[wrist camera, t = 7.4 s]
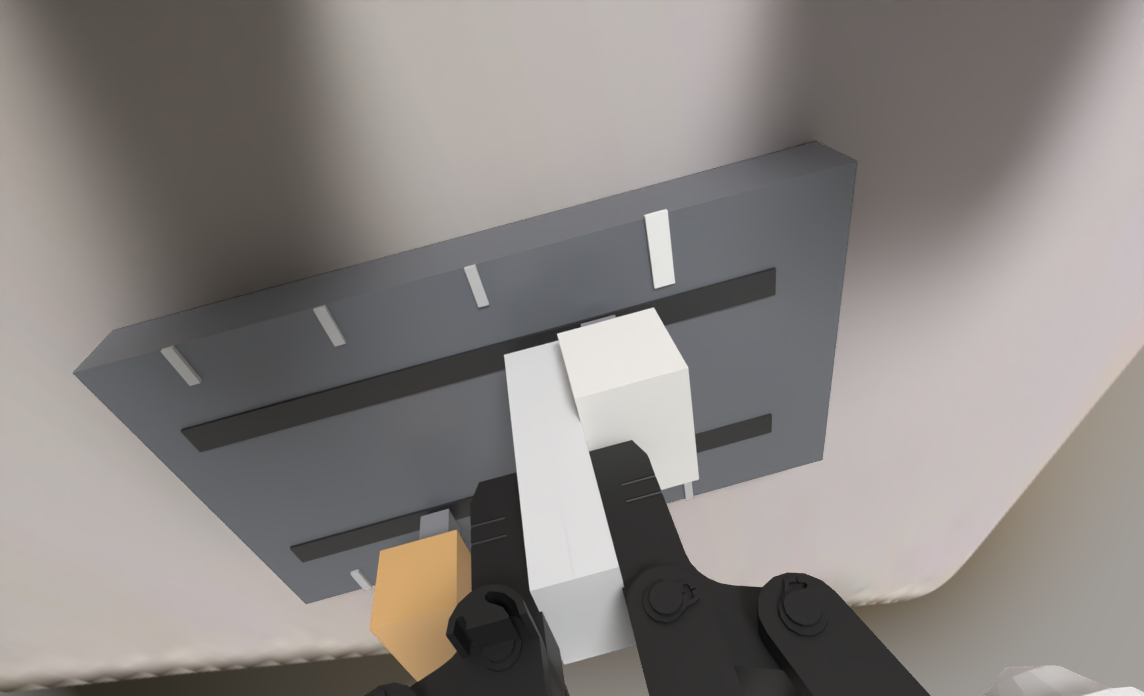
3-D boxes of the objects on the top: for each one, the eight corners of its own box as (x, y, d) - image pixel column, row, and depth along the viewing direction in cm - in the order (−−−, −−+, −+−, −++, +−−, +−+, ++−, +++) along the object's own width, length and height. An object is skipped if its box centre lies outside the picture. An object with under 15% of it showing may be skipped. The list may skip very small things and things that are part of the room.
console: (318, 559, 23) (306, 608, 21) (110, 327, 15) (67, 372, 14) (796, 426, 23) (824, 463, 21) (816, 137, 16) (860, 158, 14)
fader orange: (426, 559, 20) (419, 684, 16) (387, 500, 18) (369, 629, 14) (488, 542, 20) (495, 662, 17) (456, 481, 18) (456, 605, 14)
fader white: (573, 392, 16) (604, 505, 13) (546, 294, 14) (574, 398, 11) (649, 372, 16) (699, 479, 13) (632, 271, 14) (688, 367, 11)
